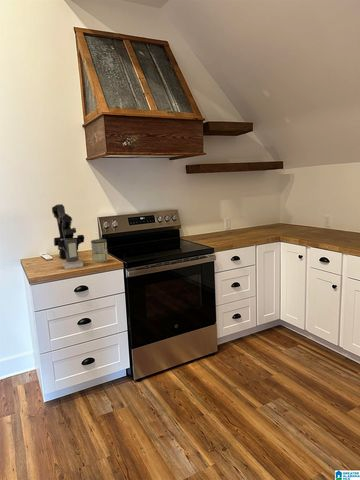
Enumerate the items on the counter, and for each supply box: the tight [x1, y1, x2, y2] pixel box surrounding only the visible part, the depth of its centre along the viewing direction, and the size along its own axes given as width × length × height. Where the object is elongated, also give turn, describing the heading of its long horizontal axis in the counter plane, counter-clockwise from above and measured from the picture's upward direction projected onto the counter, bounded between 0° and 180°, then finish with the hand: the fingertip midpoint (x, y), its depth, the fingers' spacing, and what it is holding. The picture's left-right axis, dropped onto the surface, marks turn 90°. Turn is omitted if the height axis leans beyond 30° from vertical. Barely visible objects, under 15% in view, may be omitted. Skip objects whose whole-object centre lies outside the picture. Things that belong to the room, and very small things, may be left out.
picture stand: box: [62, 258, 84, 270], centre depth 228 cm, size 10×11×3 cm
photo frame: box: [64, 239, 79, 262], centre depth 226 cm, size 4×6×14 cm, turn 129°
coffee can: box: [90, 238, 109, 263], centre depth 239 cm, size 10×10×14 cm
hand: (71, 250), depth 225 cm, fingers closed on photo frame, 7 cm apart
